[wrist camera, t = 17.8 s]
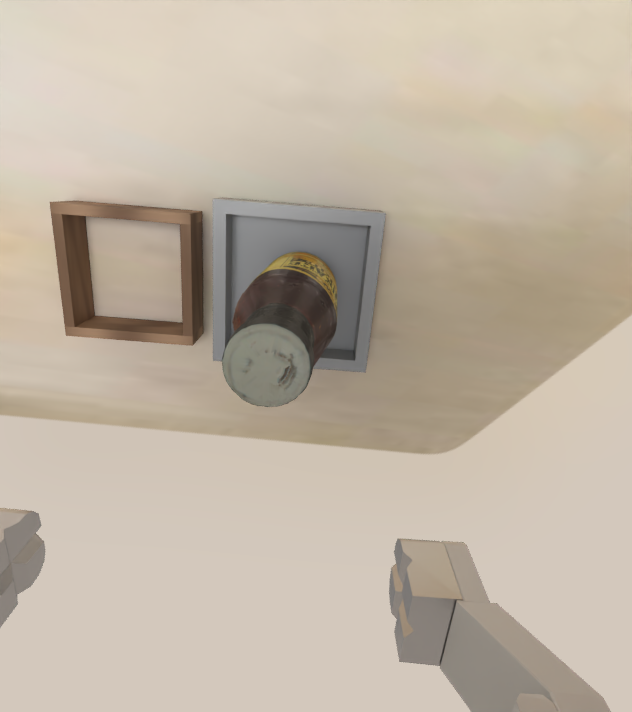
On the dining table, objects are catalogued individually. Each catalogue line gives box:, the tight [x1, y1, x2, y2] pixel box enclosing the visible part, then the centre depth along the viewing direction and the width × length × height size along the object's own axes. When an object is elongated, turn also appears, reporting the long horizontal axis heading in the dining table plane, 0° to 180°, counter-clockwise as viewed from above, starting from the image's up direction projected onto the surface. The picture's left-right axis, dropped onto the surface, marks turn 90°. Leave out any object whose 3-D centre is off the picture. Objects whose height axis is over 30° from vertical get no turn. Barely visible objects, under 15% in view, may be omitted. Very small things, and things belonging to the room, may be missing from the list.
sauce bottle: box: [222, 252, 337, 407], centre depth 29 cm, size 7×6×20 cm
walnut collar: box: [50, 201, 203, 346], centre depth 38 cm, size 11×11×4 cm
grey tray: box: [213, 198, 386, 373], centre depth 38 cm, size 13×13×4 cm
